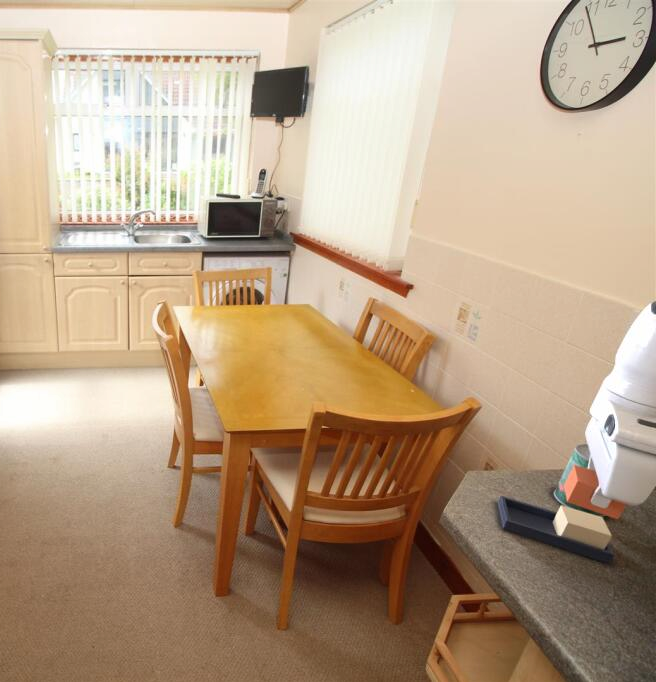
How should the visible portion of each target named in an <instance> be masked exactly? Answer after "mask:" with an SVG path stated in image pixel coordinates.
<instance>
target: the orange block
mask: <svg viewBox="0 0 656 682" xmlns="http://www.w3.org/2000/svg"><path fill="white" fill-rule="evenodd" d="M598 486H599V480H598V477H597V474H596V471H593V470H590V469H586V468H583V467H580V466H577V465H574V466H573V468H572V470H571V472H570V474H569V476H568V478H567V480H566V482H565V484H564V487H565V493H566V498H567V502H568V503H571V504H574V505H577V506H580V507H583V508H586V509H589V510H592V511H595V512H598V513H601V514H603V515H605V516H607V517H609V518H612V519H615V520H619V519H620V517H621V515H622V513H623V512H624V510H625V508H626V507H627V504H625V503H621V502H618V501H615V500H613V499H612V500H611V502H610V503H609V505H608V507H607V508H601V507H598V506H595V505H593V504H592V503H591V499H590V496H591V494H592V492H593V490H594V489H595V490H596V489H597V487H598Z"/></svg>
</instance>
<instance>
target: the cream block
mask: <svg viewBox="0 0 656 682" xmlns="http://www.w3.org/2000/svg"><path fill="white" fill-rule="evenodd" d="M556 512H557V514H556V516H555V518H554V521H553V525H554V528H555V530H556V533H557V535H560V536H563V537H566V538H569V539H572V540H575V541H578V542H582V543H585V544H588V545H591V546H594V547H597V548H600V549H605V548H606V546H607V544H608V543H610V542H609V541H611V538H612V537H613V535H612V533H611V531H610V530H609V527H608V525H607V523H606V521H605V520H604V517H599V516H596V515H593V514H589V513H586V512H582V511H579V510H576V509H572V508H569V507H566V506H564V505H563V504H561V505H560V506H559V508H558V510H557V511H556Z"/></svg>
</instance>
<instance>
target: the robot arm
mask: <svg viewBox="0 0 656 682" xmlns="http://www.w3.org/2000/svg"><path fill="white" fill-rule="evenodd" d="M589 414H590V415H591V418H590V420H589V422H588V424H587V426H586V429H585V433H584V437H585V440H586V444H588V447H589V450H590V453H591V454H590V458H589V464H588V468H587V469H590V470H593V471H596V474H597V477H598V480H599V486H598V487H597V489H596V490H595V489H594V490H593V492H592V494H591V496H590V499H591V503H592V504H593V505H595V506H598V507H601V508H607V507H608V505H609V503H610V502H611V500H612V499H613V500H615V501H618V502H621V503H625V504H626V505H628V506H631V507H637V506H640V505H641V504H642V503H644V502H645V501H647V499H648V497H650V495H651V493H652V492H653V491H654V490H655V488H656V300H654V301H652V302H651V303H649V304H648V305H647V306H646V307H645V308H644V309H643V310H642V311H641V312H640V313H639V314H638V316H637V317H636V318H635V320H634V321H633V323H632V324H631V326H630V328H629V329H628V331H627V333H626V334H625V336H624V338H623V339H622V342H621V343H620V345H619V347H618V349H617V352H616V354H615V358H614V366H613V368H612V371H611V372H610V373H609V374H608V375H607V376H606V377H605V378H604V380H603V381H602V383H601V385H600V388H599V389H598V392H597V393H596V395H595V397H594V400H593V402H592V404H591V406H590V409H589Z"/></svg>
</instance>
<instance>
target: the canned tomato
mask: <svg viewBox="0 0 656 682" xmlns="http://www.w3.org/2000/svg"><path fill="white" fill-rule="evenodd" d="M590 454H591V453H590V450H589V447H588V443H580V444H577V445H575V447H574V450H573V452H572V454H571V457H570V458H569V460H568V463H567V464H566V467H565V469H564V470H563V472H562V475H561V477H560V479H559V481H558V484H557V486H556V488H555V490H554V492H553V496H554V498H555V499H556V500H557V502H559V504H561V505H562V506H565V507H569V508H572V509H576V510H579V511H582V512H586V513H589V514H593V515H596V516H599V517H602V518H604V517H605V516H606V515H603V514H601V513H598V512H595V511H592V510H589V509H586V508H583V507H580V506H577V505H574V504H571V503H568V502H567V498H566V493H565V487H564V484H565V482H566V480H567V478H568V476H569V474H570V472H571V470H572V468H573V466H574V465H577V466H580V467H583V468H586V469H587V468H588V464H589V458H590Z"/></svg>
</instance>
